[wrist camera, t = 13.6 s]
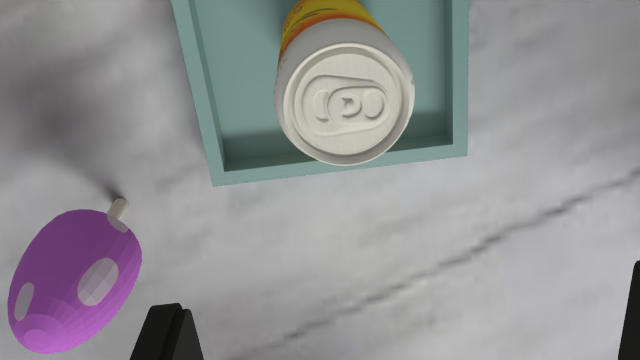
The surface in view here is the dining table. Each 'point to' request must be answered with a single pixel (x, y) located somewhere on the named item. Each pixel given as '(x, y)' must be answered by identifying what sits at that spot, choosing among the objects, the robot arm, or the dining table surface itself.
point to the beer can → (340, 83)
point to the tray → (260, 75)
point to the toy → (73, 279)
